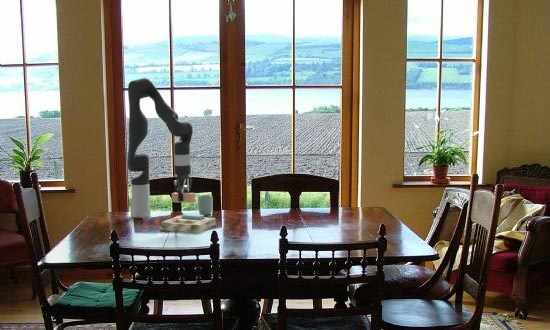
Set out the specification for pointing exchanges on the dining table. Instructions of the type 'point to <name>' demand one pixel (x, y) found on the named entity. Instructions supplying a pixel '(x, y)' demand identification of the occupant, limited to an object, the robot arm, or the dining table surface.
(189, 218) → the batten teal
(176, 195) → the block
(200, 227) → the slot rack
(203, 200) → the cup
